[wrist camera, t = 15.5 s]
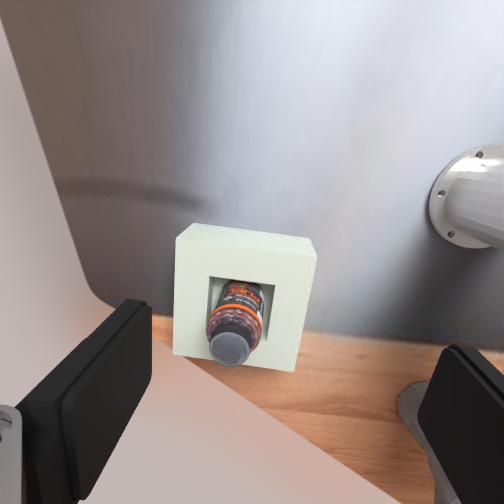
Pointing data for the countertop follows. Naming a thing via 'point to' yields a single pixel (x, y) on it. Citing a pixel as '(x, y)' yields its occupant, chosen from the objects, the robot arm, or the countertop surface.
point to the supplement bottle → (236, 322)
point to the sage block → (246, 269)
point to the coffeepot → (424, 440)
